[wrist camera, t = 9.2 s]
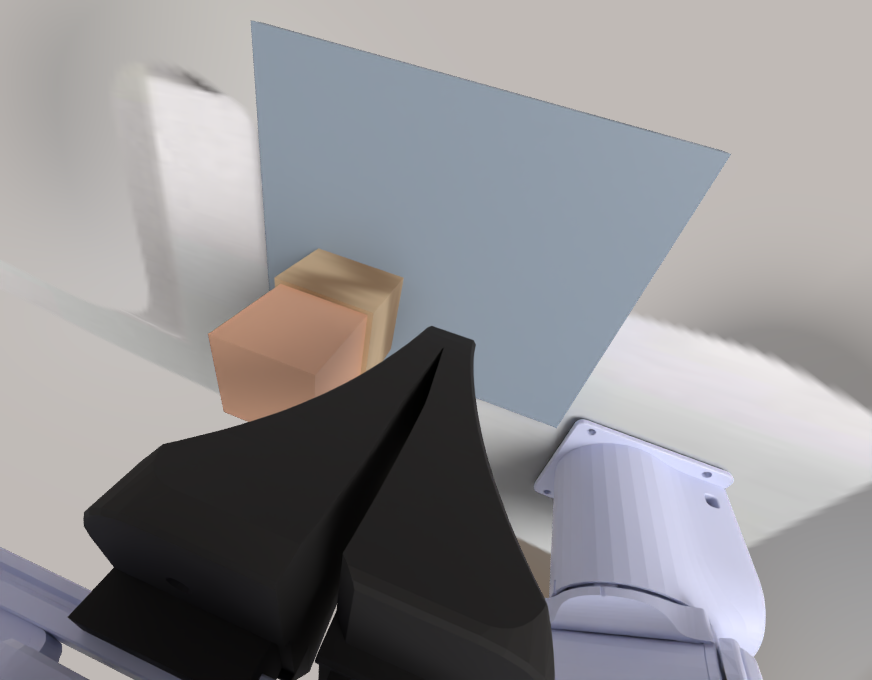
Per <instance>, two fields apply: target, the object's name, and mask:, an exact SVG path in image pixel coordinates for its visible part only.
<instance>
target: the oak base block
mask: <svg viewBox="0 0 872 680" xmlns="http://www.w3.org/2000/svg"><path fill="white" fill-rule="evenodd" d="M274 279H275V287H277V286H278V285H279V284H283V285H285V286H288V287H291V288H294V289H297V290H299V291H302V292H305V293H308V294H311V295H313V296H316V297H319V298H322V299H324V300H327V301H330V302H333V303H336V304H338V305H341V306H344V307H347V308H350V309H352V310H355V311H358V312H361V313H364V314H366V315H368V316H367V324H366V333H365V341H364V349H363V357H362V366H361V374H362V373H364V372H366V371H367V370H369V369H371V368H372V367H374V366H376V365H377V364H379V363H380V362H382V361H383V360H384V359H385V357H386V356H387V354H388V353H389V351H390V350H391V346H392V340H393V335H394V329H395V324H396V318H397V313H398V307H399V302H400V296H401V290H402V285H403V279H404V278H403V277H400V276H397V275H394V274H392V273H389V272H386V271H383V270H380V269H377V268H374V267H371V266H368V265H365V264H362V263H360V262H357V261H354V260H351V259H348V258H345V257H342V256H339V255H336V254H333V253H331V252H328V251H325V250H322V249H319V248H318V249H317V250H315V251H314V252H312V253H311V254H309V255H308V256H306V257H305V258H303V259H302V260H300V261H299V262H297V263H296V264H294V265H293V266H291V267H290V268H288V269H287V270H285V271H283V272H282V273H280V274H279V275H277V276H276V277H274ZM361 374H360V375H361Z"/></svg>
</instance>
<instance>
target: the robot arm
mask: <svg viewBox="0 0 872 680" xmlns="http://www.w3.org/2000/svg"><path fill="white" fill-rule="evenodd" d="M475 347H476V344H475V342H474V340H472V339H469V338H466V337H463V336H460V335H457V334H454V333H451V332H449V331H446V330H443V329H440V328H437V327H434V326H430V327H427V328H426V329H425V330H424V331H423V332H421V333H420V334H419V335H418V336H417V337H415V338H414V339H413V340H412V341H410V342H409V343H408V344H406V345H405V346H404V347H402V348H401V349H399V350H398V351H397V352H395V353H394V354H392V355H391V356H389V357H388V358H386V359H385V360H383V361H382V362H380V363H379V364H377V365H376V366H374V367H372V368H371V369H369V370H367V371H366V372H364V373H362V374H361V375H359V376H357V377H355V378H354V379H352V380H350V381H348V382H346V383H344V384H342V385H340V386H338V387H336V388H334V389H332V390H330V391H328V392H326V393H324V394H322V395H320V396H317V397H315V398H312V399H310V400H308V401H305V402H303V403H301V404H298V405H296V406H293V407H291V408H288V409H286V410H283V411H280V412H277V413H274V414H271V415H268V416H265V417H262V418H259V419H256V420H253V421H250V422H247V423H244V424H241V425H238V426H234V427H231V428H228V429H224V430H220V431H216V432H212V433H208V434H205V435H200V436H196V437H192V438H188V439H184V440H180V441H175V442H171V443H166V444H163V445H162V446H160V447H159V448H158V449H156V450H155V451H154V452H152V453H151V454H150V455H149V456H147V457H146V458H145V459H143V460H142V461H141V462H140V463H139V464H137V465H136V466H135V467H134V468H133V469H132V470H131V471H130V472H129V473H127V474H126V475H125V476H124V477H123V478H122V479H121V480H120V481H118V482H117V483H116V484H115V485H114V486H113V487H112V488H111V489H109V490H108V491H107V492H106V493H105V494H104V495H103V496H102V497H100V498H99V499H98V500H97V501H96V502H95V503H94V504H93V505H92V506H90V507H89V508H88V509H87V510H86V511H85V512H84V527H85V529H86V530H87V532H88V534H89V535H90V537H91V538H92V539H93V541H94V542H95V543H96V544H97V546H98V547H99V548H100V550H101V551H102V552H103V554H104V555H105V556H106V557H107V559H108V560H109V561H110V563H111V564H112V565H113V567H114V568H113V569H112V570H111V571H110V573H108V574H107V576H106V577H105V578H104V579H103V580H102V581H101V582H100V583H99V584H98V585H97V586H96V587H95V588H94V589H93V590H92V591H90V590H88V589H86V588H84V587H82V586H80V585H78V584H76V583H74V582H72V581H70V580H68V579H66V578H64V577H61V576H59V575H57V574H55V573H53V572H51V571H49V570H47V569H45V568H43V567H41V566H39V565H37V564H35V563H33V562H31V561H29V560H26V559H24V558H22V557H20V556H18V555H16V554H14V553H12V552H10V551H8V550H6V549H4V548H1V547H0V680H89V679H87V678H85V677H83V676H81V675H79V674H78V673H76V672H74V671H72V670H70V669H68V668H66V667H65V666H63V665H61V664H59V663H58V662H59V658H60V656H61V653H62V644H61V643H64V644H65V645H67V646H69V647H71V648H73V649H75V650H77V651H79V652H81V653H83V654H85V655H87V656H89V657H91V658H93V659H95V660H97V661H99V662H101V663H103V664H105V665H107V666H109V667H111V668H113V669H115V670H116V671H118V672H120V673H122V674H124V675H126V676H128V677H130V678H132V679H134V680H276V679H277V678H278V679H280V680H297V679H298V678H300V677H302V676H303V675H305V674H306V673H308V672H309V671H310V669H311V667H312V664H313V662H314V659H315V657H316V654H317V651H318V649H319V647H320V644H321V642H322V639H323V637H324V634H325V632H326V629H327V627H328V624H329V622H330V620H331V617H332V615H333V612H334V609H335V607H336V605H337V611H336V613H335V616H334V618H333V620H332V622H331V625H330V627H329V629H328V631H327V633H326V636H325V638H324V640H323V642H322V645H321V647H320V649H319V652H318V654H317V657H316V659H315V663H317V664H319V679H318V680H763V678H762V676H761V673H760V670H759V667H758V664H757V661H756V659H755V658H754V657H753V656H754V655H755V654H756V652H757V651H758V649H759V647H760V645H761V643H762V640H763V636H764V631H765V615H766V612H765V602H764V596H763V591H762V587H761V584H760V581H759V578H758V576H757V573H756V570H755V568H754V565H753V562H752V560H751V557H750V554H749V552H748V549H747V546H746V544H745V541H744V538H743V536H742V533H741V530H740V528H739V525H738V522H737V520H736V517H735V514H734V512H733V509H732V506H731V504H730V501H729V498H728V496H727V493H726V490H725V489H726V488H727V487H729V486H730V485H731V484H732V483H733V482H734V479H733V477H732V475H731V473H729V472H727V471H724V470H722V469H719V468H716V467H713V466H711V465H708V464H705V463H703V462H700V461H697V460H694V459H692V458H689V457H686V456H684V455H681V454H678V453H675V452H673V451H670V450H667V449H664V448H662V447H659V446H656V445H654V444H651V443H648V442H645V441H643V440H640V439H637V438H634V437H632V436H629V435H626V434H624V433H621V432H618V431H615V430H613V429H610V428H607V427H605V426H602V425H599V424H596V423H594V422H591V421H588V420H584V419H580V420H578V421H576V422H575V424H574V425H573V427H572V428H571V430H570V431H569V433H568V434H567V436H566V437H565V439H564V440H563V442H562V443H561V444H560V446H559V447H558V449H557V450H556V452H555V453H554V455H553V456H552V458H551V459H550V461H549V462H548V464H547V465H546V467H545V468H544V470H543V471H542V473H541V474H540V476H539V477H538V478H537V480H536V481H535V483H534V490H535V491H536V492H538V493H540V494H543V495H545V496H548V497H550V498H553V499H554V501H553V523H552V546H551V569H550V593H549V598H544V596H543V594H542V592H541V590H540V588H539V586H538V584H537V582H536V580H535V578H534V576H533V574H532V572H531V570H530V568H529V566H528V563H527V561H526V559H525V557H524V555H523V552H522V550H521V548H520V546H519V543H518V541H517V538H516V536H515V534H514V531H513V529H512V527H511V524H510V522H509V519H508V516H507V514H506V511H505V508H504V506H503V503H502V500H501V497H500V495H499V492H498V489H497V486H496V484H495V481H494V478H493V474H492V471H491V468H490V464H489V461H488V457H487V454H486V450H485V446H484V442H483V438H482V433H481V428H480V423H479V417H478V412H477V405H476V397H475V386H474V352H475ZM589 429H593V430H592V431H591V430H589ZM60 642H61V643H60Z"/></svg>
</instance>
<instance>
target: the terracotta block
mask: <svg viewBox="0 0 872 680" xmlns="http://www.w3.org/2000/svg"><path fill="white" fill-rule="evenodd" d="M367 316H368V315H366V314H364V313H361V312H358V311H355V310H352V309H350V308H347V307H344V306H341V305H338V304H336V303H333V302H330V301H327V300H324V299H322V298H319V297H316V296H313V295H311V294H308V293H305V292H302V291H299V290H297V289H294V288H291V287H288V286H285V285H283V284H279V285H278V286H277V287H275V288H274V289H272V290H271V291H269V292H268V293H267V294H265V295H264V296H262V297H261V298H259V299H258V300H256V301H255V302H254V303H252V304H251V305H249V306H248V307H246V308H245V309H243V310H242V311H241V312H239V313H238V314H236V315H235V316H233V317H232V318H231V319H229V320H228V321H226V322H225V323H223V324H222V325H220V326H219V327H218V328H216V329H215V330H213V331H212V332H210V333H209V334H208V336H209V341H210V346H211V351H212V356H213V361H214V366H215V371H216V376H217V381H218V386H219V391H220V396H221V400H222V405H223V410H224V412H225V413H228V414H231V415H233V416H235V417H238V418H240V419H243V420H245V421H248V422H250V421H253V420H256V419H259V418H262V417H265V416H268V415H271V414H274V413H277V412H280V411H283V410H286V409H288V408H291V407H293V406H296V405H298V404H301V403H303V402H305V401H308V400H310V399H312V398H315V397H317V396H320V395H322V394H324V393H326V392H328V391H330V390H332V389H334V388H336V387H338V386H340V385H342V384H344V383H346V382H348V381H350V380H352V379H354V378H355V377H357V376H359V375H360V374H361V366H362V357H363V349H364V341H365V333H366V324H367Z"/></svg>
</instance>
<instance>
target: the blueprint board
mask: <svg viewBox="0 0 872 680" xmlns="http://www.w3.org/2000/svg"><path fill="white" fill-rule="evenodd" d="M251 31H252V44H253V45H252V46H253V60H254V75H255V89H256V104H257V118H258V133H259V147H260V162H261V176H262V191H263V205H264V220H265V234H266V249H267V263H268V278H269V291H271V290H272V289H274V288H275V279H274V277H276V276H277V275H279V274H280V273H282V272H283V271H285V270H287V269H288V268H290V267H291V266H293V265H294V264H296V263H297V262H299V261H300V260H302V259H303V258H305V257H306V256H308V255H309V254H311V253H312V252H314V251H315V250H317V249H318V248H319V249H322V250H325V251H328V252H331V253H333V254H336V255H339V256H342V257H345V258H348V259H351V260H354V261H357V262H360V263H362V264H365V265H368V266H371V267H374V268H377V269H380V270H383V271H386V272H389V273H392V274H394V275H397V276H400V277H403V278H404V279H403V285H402V290H401V296H400V302H399V307H398V313H397V318H396V324H395V329H394V335H393V340H392V346H391V350H390V351H389V353H388V354H387V356H386V357H385V359H386V358H388V357H389V356H391V355H392V354H394V353H395V352H397V351H398V350H399V349H401V348H402V347H404V346H405V345H406V344H408V343H409V342H410V341H412V340H413V339H414V338H415V337H417V336H418V335H419V334H420V333H421V332H423V331H424V330H425V329H426V328H427V327H430V326H434V327H437V328H440V329H443V330H446V331H449V332H451V333H454V334H457V335H460V336H463V337H466V338H469V339H472V340H474V342H475V344H476V347H475V352H474V386H475V397H476V398H477V399H480V400H483V401H486V402H488V403H491V404H494V405H496V406H499V407H502V408H504V409H507V410H510V411H512V412H515V413H518V414H520V415H523V416H526V417H528V418H531V419H534V420H536V421H539V422H542V423H545V424H547V425H550V426H553V427H555V428H557V426H558V425H559V423H560V422H561V420H562V419H563V417H564V415H565V414H566V412H567V411H568V409H569V408H570V406H571V404H572V403H573V401H574V400H575V398H576V397H577V395H578V393H579V392H580V390H581V389H582V387H583V386H584V384H585V382H586V381H587V379H588V378H589V376H590V375H591V373H592V371H593V370H594V368H595V367H596V365H597V364H598V362H599V360H600V359H601V357H602V356H603V354H604V353H605V351H606V349H607V348H608V346H609V345H610V343H611V342H612V340H613V339H614V337H615V335H616V334H617V332H618V331H619V329H620V328H621V326H622V324H623V323H624V321H625V320H626V318H627V317H628V315H629V313H630V312H631V310H632V309H633V307H634V306H635V304H636V302H637V301H638V299H639V298H640V296H641V295H642V293H643V291H644V290H645V288H646V287H647V285H648V283H649V282H650V280H651V279H652V277H653V275H654V274H655V272H656V271H657V269H658V268H659V266H660V265H661V263H662V262H663V260H664V258H665V257H666V255H667V254H668V252H669V250H670V249H671V248H672V246H673V244H674V243H675V241H676V240H677V238H678V236H679V235H680V233H681V232H682V230H683V229H684V227H685V226H686V224H687V222H688V221H689V219H690V218H691V216H692V215H693V213H694V211H695V210H696V208H697V207H698V205H699V204H700V202H701V200H702V199H703V197H704V196H705V194H706V192H707V191H708V189H709V188H710V186H711V185H712V183H713V181H714V180H715V179H716V177H717V175H718V174H719V172H720V171H721V169H722V167H723V166H724V164H725V163H726V161H727V160H728V158H729V156H730V155H731V154H729V153H727V152H725V151H722V150H718V149H714V148H711V147H707V146H703V145H700V144H696V143H693V142H689V141H686V140H681V139H678V138H675V137H671V136H667V135H664V134H661V133H657V132H653V131H650V130H646V129H642V128H639V127H635V126H632V125H628V124H625V123H621V122H617V121H614V120H610V119H606V118H603V117H599V116H596V115H592V114H589V113H585V112H581V111H577V110H574V109H570V108H567V107H564V106H560V105H556V104H553V103H549V102H545V101H542V100H538V99H535V98H531V97H528V96H524V95H520V94H517V93H513V92H509V91H506V90H502V89H498V88H495V87H491V86H488V85H484V84H481V83H477V82H474V81H470V80H467V79H463V78H459V77H455V76H452V75H449V74H445V73H441V72H438V71H434V70H431V69H427V68H423V67H419V66H416V65H412V64H409V63H405V62H401V61H398V60H395V59H391V58H387V57H384V56H380V55H377V54H373V53H370V52H366V51H362V50H359V49H355V48H351V47H348V46H344V45H341V44H337V43H334V42H330V41H326V40H322V39H319V38H315V37H312V36H308V35H305V34H301V33H297V32H294V31H290V30H287V29H283V28H279V27H276V26H273V25H269V24H265V23H261V22H256V21H251ZM385 359H384V360H385Z"/></svg>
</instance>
